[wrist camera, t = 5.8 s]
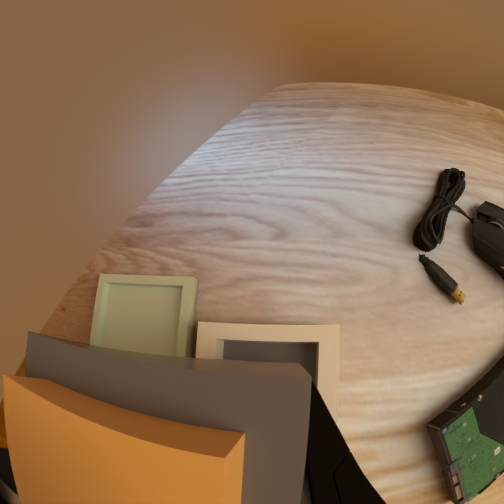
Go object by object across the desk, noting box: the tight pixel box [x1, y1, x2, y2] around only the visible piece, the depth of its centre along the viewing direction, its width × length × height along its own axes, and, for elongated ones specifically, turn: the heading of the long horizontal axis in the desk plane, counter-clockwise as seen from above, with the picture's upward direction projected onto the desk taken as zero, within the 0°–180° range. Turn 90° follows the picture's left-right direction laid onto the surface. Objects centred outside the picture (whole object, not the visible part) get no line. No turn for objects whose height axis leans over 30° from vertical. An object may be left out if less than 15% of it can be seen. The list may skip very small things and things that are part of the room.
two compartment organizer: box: [196, 321, 340, 423], centre depth 15 cm, size 16×9×2 cm, turn 177°
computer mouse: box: [413, 168, 504, 305], centre depth 16 cm, size 12×17×4 cm
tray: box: [90, 274, 199, 358], centre depth 20 cm, size 9×9×1 cm
